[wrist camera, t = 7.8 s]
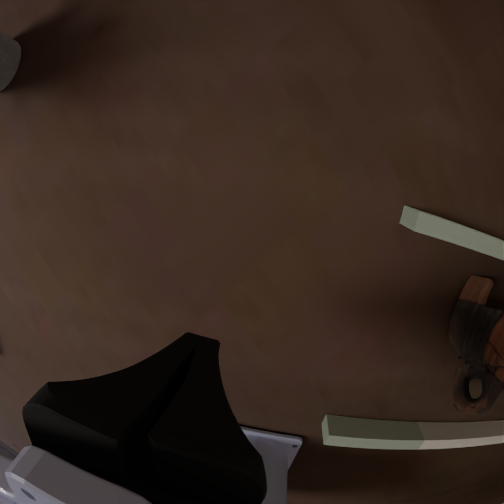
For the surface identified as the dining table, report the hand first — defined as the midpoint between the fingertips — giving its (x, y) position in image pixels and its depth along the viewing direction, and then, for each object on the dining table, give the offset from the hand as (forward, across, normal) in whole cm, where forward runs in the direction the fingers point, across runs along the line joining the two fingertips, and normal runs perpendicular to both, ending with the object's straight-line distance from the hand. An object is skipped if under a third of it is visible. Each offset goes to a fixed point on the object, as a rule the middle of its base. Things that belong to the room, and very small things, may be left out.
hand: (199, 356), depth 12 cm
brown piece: (+10, -20, -1) cm, 23 cm away
